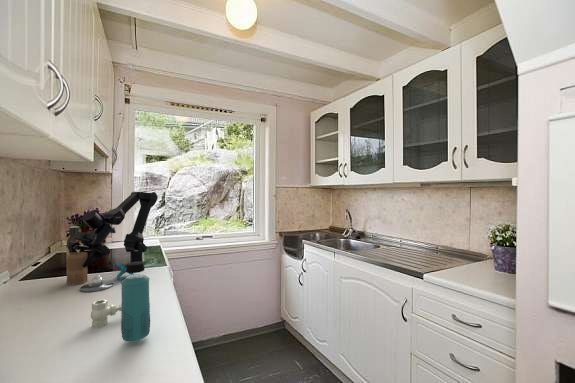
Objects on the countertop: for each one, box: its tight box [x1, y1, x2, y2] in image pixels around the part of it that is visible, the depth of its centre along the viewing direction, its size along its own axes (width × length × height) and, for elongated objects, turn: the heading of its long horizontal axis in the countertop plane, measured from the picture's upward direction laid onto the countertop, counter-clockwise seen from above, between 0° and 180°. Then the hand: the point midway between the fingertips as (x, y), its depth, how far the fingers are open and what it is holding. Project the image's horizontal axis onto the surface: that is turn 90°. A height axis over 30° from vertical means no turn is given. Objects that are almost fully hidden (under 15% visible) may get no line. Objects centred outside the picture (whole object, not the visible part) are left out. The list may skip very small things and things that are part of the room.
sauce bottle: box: [65, 226, 83, 262], centre depth 140 cm, size 6×6×20 cm
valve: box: [90, 299, 122, 329], centre depth 82 cm, size 7×7×12 cm
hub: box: [79, 274, 115, 293], centre depth 110 cm, size 11×11×4 cm
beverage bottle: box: [120, 261, 151, 342], centre depth 71 cm, size 6×7×20 cm
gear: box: [115, 261, 134, 281], centre depth 121 cm, size 11×6×10 cm
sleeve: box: [66, 251, 89, 286], centre depth 115 cm, size 6×6×12 cm
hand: (74, 266), depth 114 cm, fingers open, 9 cm apart
